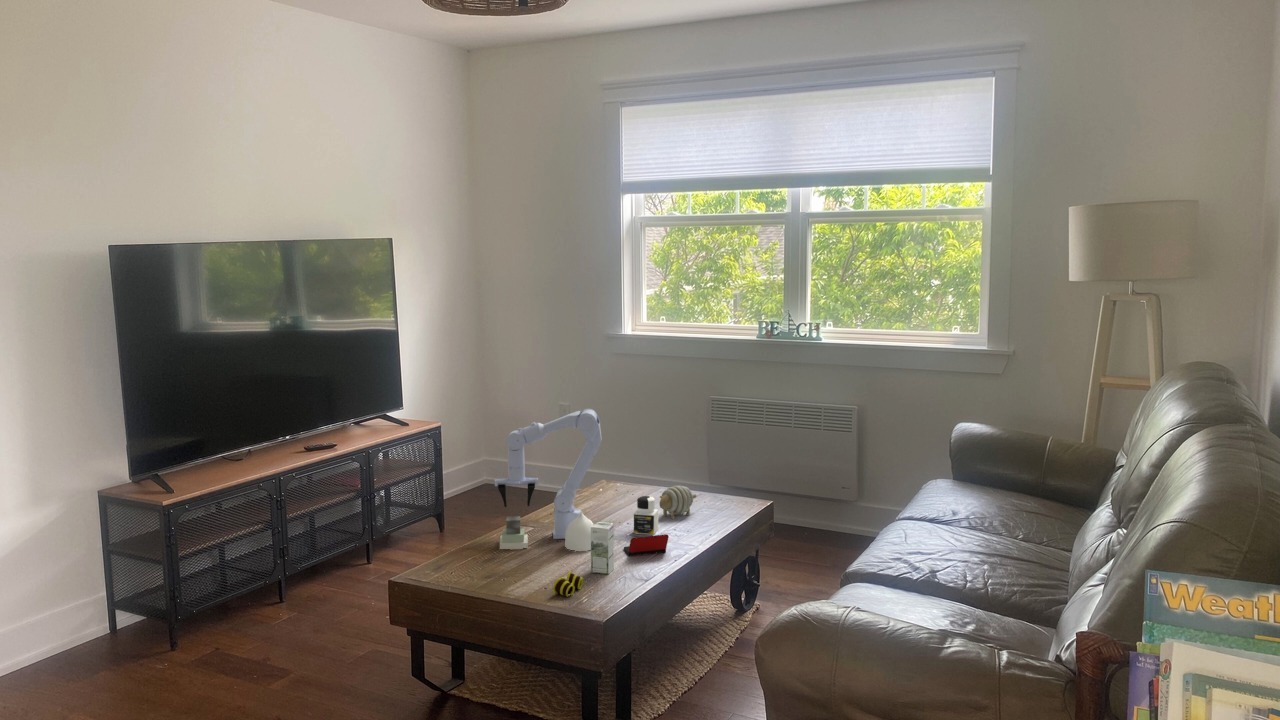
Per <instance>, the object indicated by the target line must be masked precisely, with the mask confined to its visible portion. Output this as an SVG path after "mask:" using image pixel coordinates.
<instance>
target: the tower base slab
mask: <svg viewBox="0 0 1280 720" xmlns="http://www.w3.org/2000/svg"><path fill="white" fill-rule="evenodd" d="M528 537H529V535H528V534H526V533H525V536H524V542H517V543H502V535H500V538H499V550H500V549H510V550H524V549H523V548H529V545H528V544H529V540H528V539H529V538H528Z"/></svg>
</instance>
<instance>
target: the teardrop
mask: <svg viewBox="0 0 1280 720" xmlns="http://www.w3.org/2000/svg"><path fill="white" fill-rule="evenodd" d="M593 524H594V523H593V521H592V519H590V518H587V516H585V514H584V512H583V511H582V510H581V512H580V514H579V516H578V517H577V518H576V519H575V520H573V521H572V522H571V523H570V524H569V526H568V527H567V530H566V534H565V538H564V541H565V542H564V548H565V547H566V548H567V549H570V550H575V551H574V552H576V551H586V552H588V551H587V550H591V526H592V525H593ZM566 548H565V549H566ZM567 549H566V550H567ZM570 550H569V551H570Z"/></svg>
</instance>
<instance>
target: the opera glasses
mask: <svg viewBox="0 0 1280 720" xmlns="http://www.w3.org/2000/svg"><path fill="white" fill-rule="evenodd" d="M583 581H584V577H583V576H578V574H574V573H572V571H571V570H569V571H568V573H567V576H566V578H565V577H563V576H562V577H559V578H557V579H556V580H555V582H554V584H553V585H552V592H553V593H554V594H555V595H559V594H560V595H561V596H566V597H568V596H570V595H572V596H573V595H574V593H575V589H576V588H577V590H579V589H580V590H581V588H582V586H583V583H584V582H583ZM558 593H559V594H558ZM568 594H570V595H568ZM570 597H571V596H570ZM568 598H569V597H568Z"/></svg>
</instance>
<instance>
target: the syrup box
mask: <svg viewBox="0 0 1280 720" xmlns="http://www.w3.org/2000/svg"><path fill="white" fill-rule="evenodd" d="M614 525H615V524H614V523H613V522H603V521H602V522H601V521H600V522H599V521H595V522H594V523H593V525H592V526H591V551H590V570H591V571H590V573H591V574H599V573H600V574H601V575H602V574H603V575H610V573H611V572H612V571H613V570H614V568H615V558H614V557H615V556H614V555H615V552H614V551H615V550H614V547H615V546H614V542H615V539H614V537H615V536H614V535H615V532H614V531H615V528H614V527H615V526H614Z"/></svg>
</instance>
